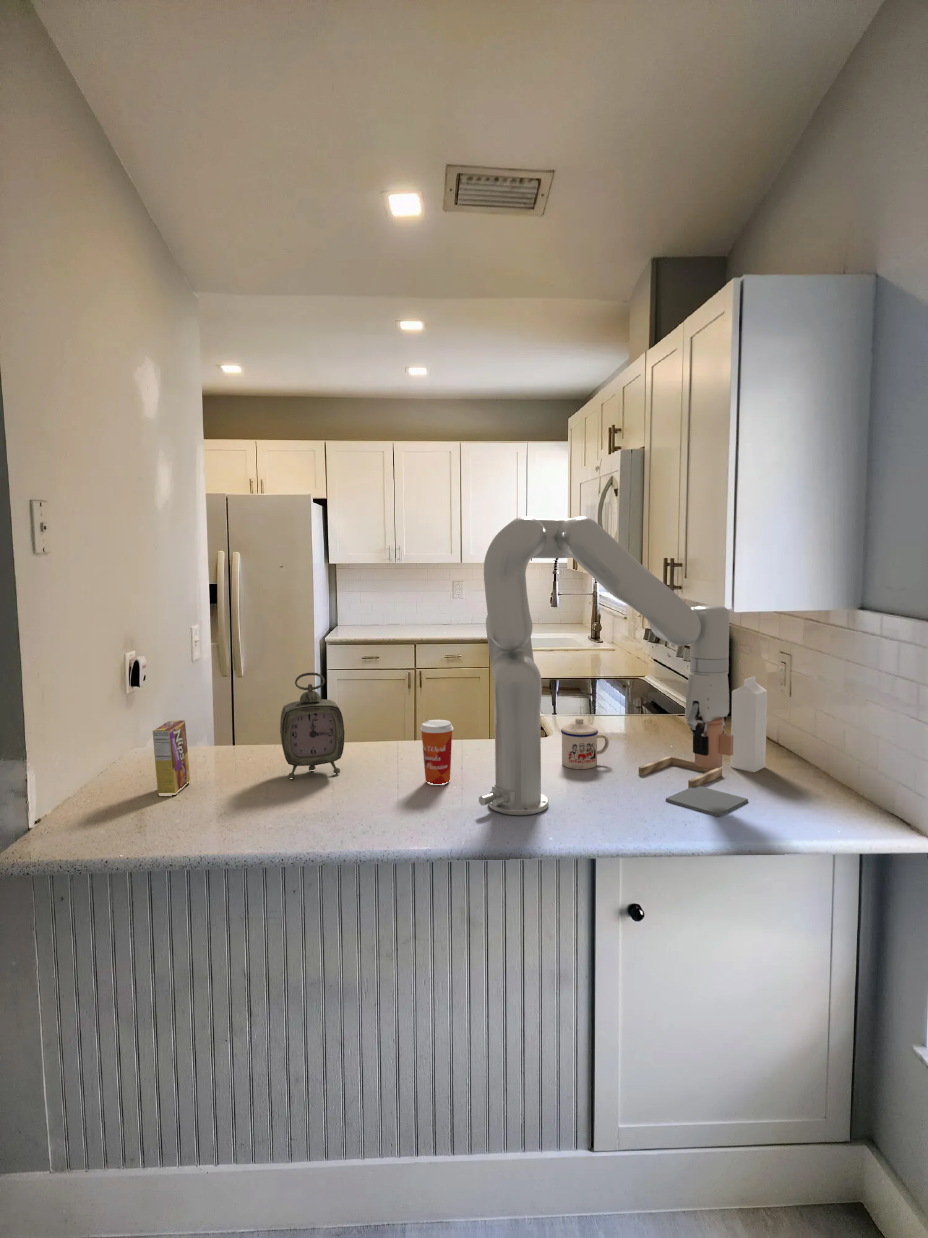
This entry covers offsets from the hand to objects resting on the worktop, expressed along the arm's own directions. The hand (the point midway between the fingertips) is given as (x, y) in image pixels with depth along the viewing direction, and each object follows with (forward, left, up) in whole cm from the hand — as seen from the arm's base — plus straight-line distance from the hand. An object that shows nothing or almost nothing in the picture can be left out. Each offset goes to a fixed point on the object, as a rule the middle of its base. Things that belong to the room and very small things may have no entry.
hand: (708, 750), depth 145 cm
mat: (0, 0, -11) cm, 11 cm away
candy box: (-80, +87, -11) cm, 119 cm away
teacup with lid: (+2, +34, -11) cm, 36 cm away
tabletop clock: (-51, +75, -11) cm, 92 cm away
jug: (0, -1, -3) cm, 3 cm away
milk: (+28, +5, -11) cm, 30 cm away
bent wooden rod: (+11, +13, -11) cm, 20 cm away
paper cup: (-33, +49, -11) cm, 60 cm away
